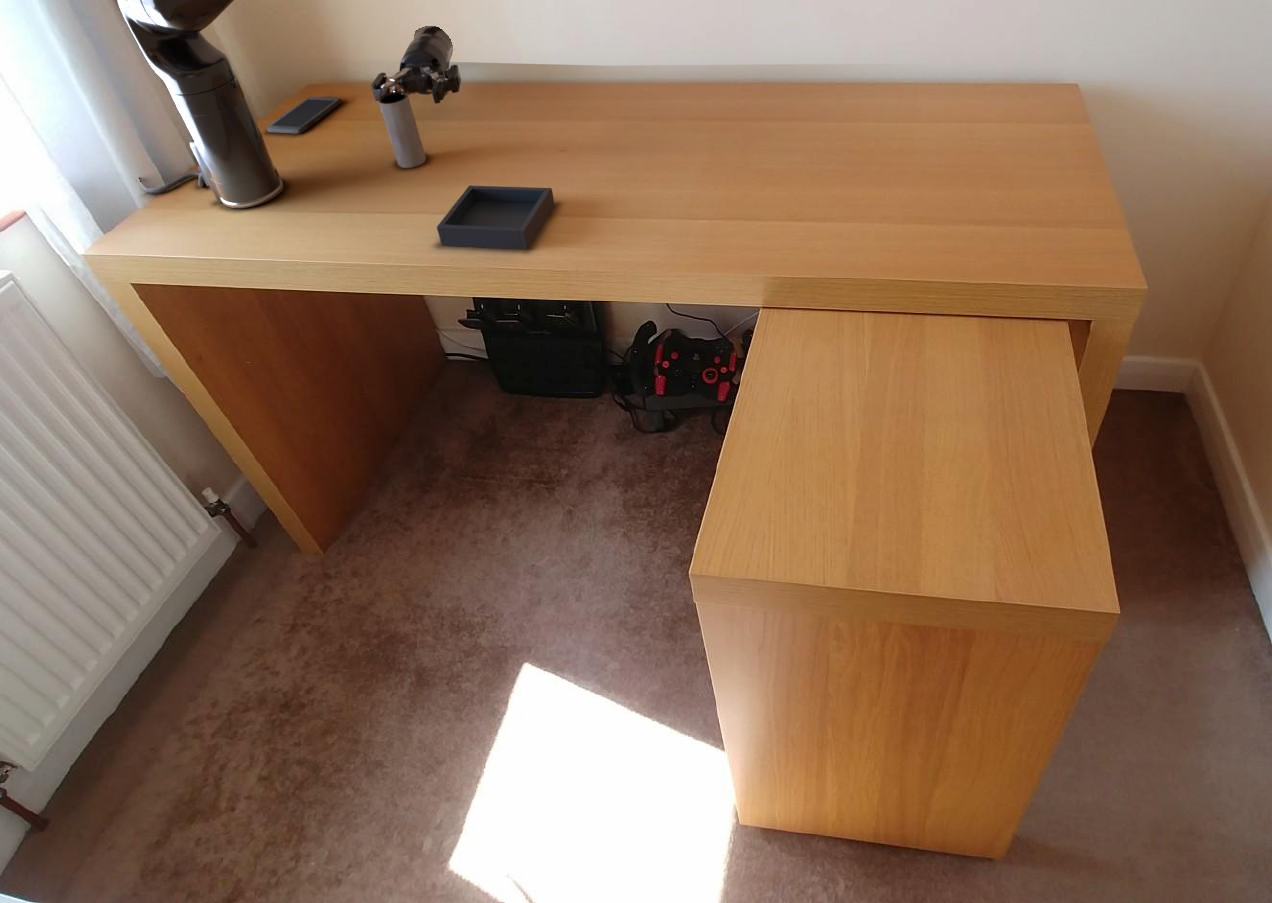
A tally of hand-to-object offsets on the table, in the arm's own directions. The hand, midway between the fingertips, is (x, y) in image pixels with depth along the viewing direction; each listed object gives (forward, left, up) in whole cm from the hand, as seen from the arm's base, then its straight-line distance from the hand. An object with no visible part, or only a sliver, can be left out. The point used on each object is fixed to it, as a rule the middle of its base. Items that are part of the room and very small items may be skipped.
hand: (409, 100), depth 134 cm
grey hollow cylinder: (+2, -8, -7) cm, 11 cm away
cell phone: (-27, +8, -7) cm, 29 cm away
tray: (+24, -26, -7) cm, 36 cm away
